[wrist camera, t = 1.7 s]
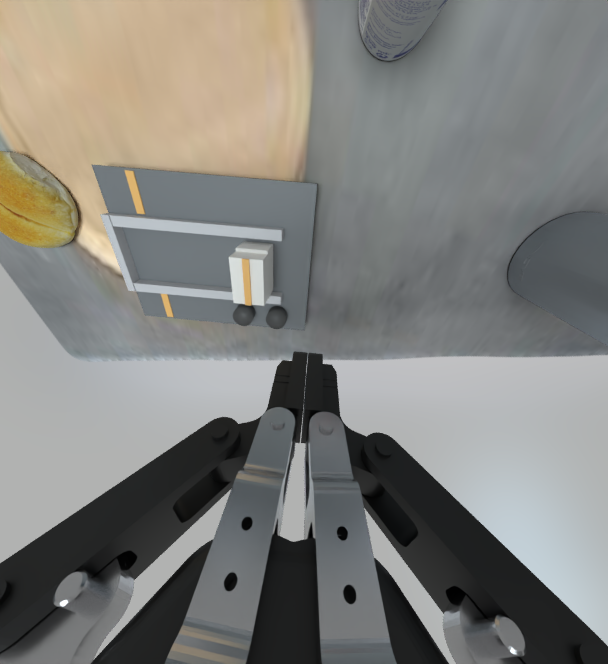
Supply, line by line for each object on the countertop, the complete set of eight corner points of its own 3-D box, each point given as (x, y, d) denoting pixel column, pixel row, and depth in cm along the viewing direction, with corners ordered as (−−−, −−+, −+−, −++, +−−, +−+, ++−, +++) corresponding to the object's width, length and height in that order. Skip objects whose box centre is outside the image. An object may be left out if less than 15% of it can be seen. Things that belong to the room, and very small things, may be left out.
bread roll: (-8, 205, 26) (-57, 209, 23) (8, 135, 22) (-47, 127, 19) (68, 260, 29) (35, 271, 26) (94, 206, 25) (59, 210, 22)
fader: (273, 243, 24) (262, 257, 19) (273, 288, 27) (263, 309, 22) (244, 241, 24) (227, 254, 20) (247, 286, 27) (233, 306, 22)
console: (317, 183, 23) (316, 183, 20) (305, 322, 31) (303, 336, 28) (108, 166, 23) (77, 163, 20) (154, 308, 32) (137, 321, 29)
